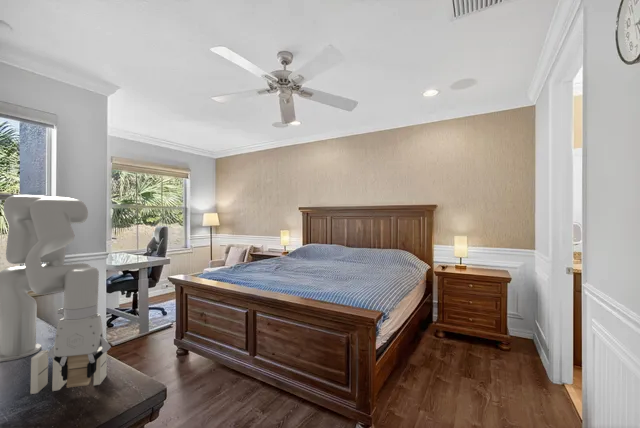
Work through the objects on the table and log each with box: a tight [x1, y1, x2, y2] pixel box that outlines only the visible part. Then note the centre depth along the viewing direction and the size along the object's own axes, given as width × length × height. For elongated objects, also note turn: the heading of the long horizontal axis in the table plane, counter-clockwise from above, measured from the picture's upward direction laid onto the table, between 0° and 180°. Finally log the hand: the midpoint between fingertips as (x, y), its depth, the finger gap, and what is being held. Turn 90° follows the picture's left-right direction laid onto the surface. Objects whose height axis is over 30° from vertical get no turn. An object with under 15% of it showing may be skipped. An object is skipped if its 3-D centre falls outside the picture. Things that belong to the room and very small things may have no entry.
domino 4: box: [93, 347, 108, 386], centre depth 90 cm, size 2×5×10 cm, turn 18°
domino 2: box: [51, 358, 67, 392], centre depth 87 cm, size 2×5×10 cm, turn 18°
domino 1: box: [29, 349, 49, 395], centre depth 86 cm, size 2×5×10 cm, turn 18°
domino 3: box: [66, 355, 92, 389], centre depth 83 cm, size 2×5×10 cm, turn 108°
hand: (79, 375), depth 83 cm, fingers closed on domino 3, 4 cm apart
